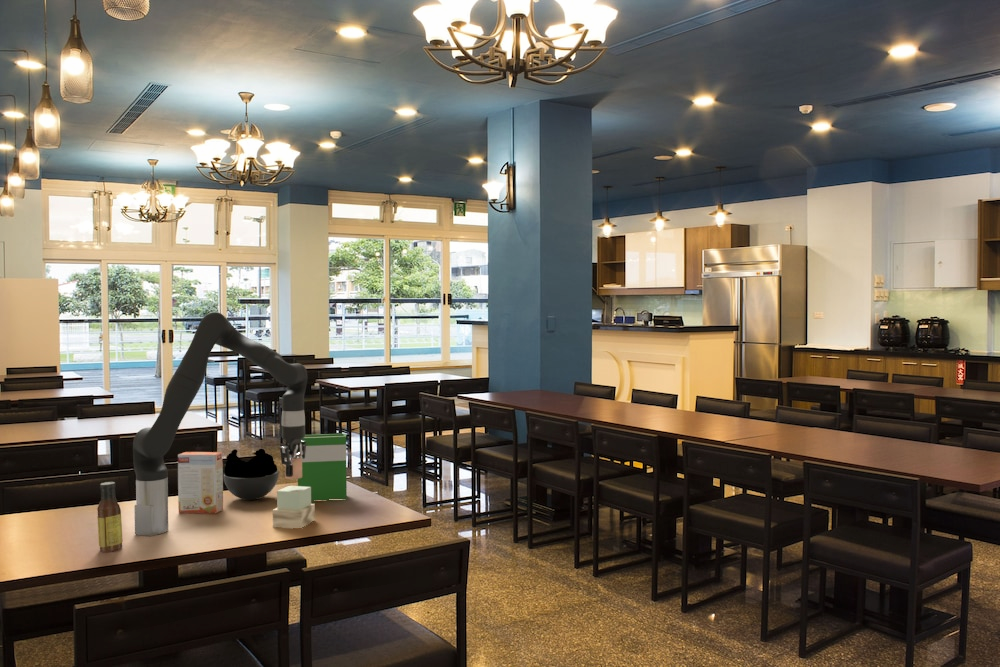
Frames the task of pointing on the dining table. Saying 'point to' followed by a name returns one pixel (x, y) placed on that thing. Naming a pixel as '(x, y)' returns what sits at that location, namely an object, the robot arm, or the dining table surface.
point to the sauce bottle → (109, 519)
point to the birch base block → (293, 517)
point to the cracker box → (200, 482)
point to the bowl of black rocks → (250, 475)
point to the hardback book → (325, 466)
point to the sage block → (293, 498)
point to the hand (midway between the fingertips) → (293, 474)
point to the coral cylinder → (296, 469)
